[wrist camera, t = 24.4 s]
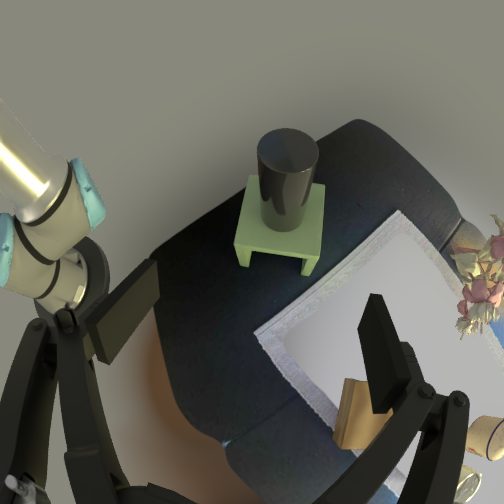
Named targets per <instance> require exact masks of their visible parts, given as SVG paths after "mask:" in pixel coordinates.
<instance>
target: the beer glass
mask: <svg viewBox="0 0 504 504" xmlns="http://www.w3.org/2000/svg"><path fill="white" fill-rule="evenodd" d="M480 483H481V474H480V473H479V472H476V471H474V470H473V469H471V468H470V467H467V466H465V465H463V464H462V469H461V474H460V478H459V483H458V487H457V491H456V494H455V498H454V502H453V504H464V503H465V502H467V501H468V500H469V499H470V498H471V497H472V496H473V495H474V494H475V492H476V491H477V489H478V487H479V485H480Z"/></svg>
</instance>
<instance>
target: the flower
mask: <svg viewBox="0 0 504 504" xmlns="http://www.w3.org/2000/svg"><path fill="white" fill-rule="evenodd" d="M490 216H492V217H494V219H495V223H496V224H497V225H498V227H499V229H500V235H499V236H494V235H492V237H491V238H489V240H488V241H487V243H486V244H485V246H484V247H483V249H482V250H475V249H468V248H462V247H456V246H455V245H454V243H453V242H452V243H451V246H452V248H453V250H454V254H455V255H450V256H451V258H452V259H454V260H455V261H456V265H457V268H458V271H459V273H461V274H462V275H464V276H466V277H467V278H469V279H472V282H467V281H465V280H464V279H463V278H462V282H463V285H464V288H463V291H462V293H463V295H464V298H465V300H462V301H460V302H459V304H458V305H457V307H458V312H460V313H461V314H462V315H464V317H460V318H458V321H457V324H456V326H458V332H459V331H460V330H461V329H462V336H461V338H460V339H461V340H462V337H463V334H464V332H465V334H466V335H467V334H468V335H469V334H470V332H471V331H473V332H474V335H475V333H476V331H477V329H478V323H479V321H481V327H480V332H481V334H482V325H483V322H484V324H485V323H486V322H487V325H489V324H488V323H490V319H491V317H492V318H493V320H494V322H495V323H496V322H497V320H498V317H499V315H500V313H499V312H498V311H497V309H496V308H495V307H497V306H499V304H500V301H501V298H503V300H504V282H503V284H502V281H504V223H503V222H502V221H501V220H500V219H499V218H498V217H497V216H496V215H495V214H494V215H490ZM491 258H494V259H496V260H494V261H490V259H491ZM500 259H501V261H502V263H503V264H502V266H501V267H500V269H499V270H498V272H497V273H494V274H492V275H491V277H492V278H491V279H489V281H493V282H494V283H495V284H497V285H494V286H493V287H492V288H491V289H489V288H487V285H486V280H487V279H488V278H489V272H490V270H491V268H492V264H493V263H495V262H497V261H499V260H500ZM480 263H485V264H489V265H488V267H487V270H486V272H485V273H484V270H483V268H482V266H481V264H480ZM480 270H481V272H482V273H483V274H481V275H480ZM488 291H489V292H490V296H489V297H488ZM467 301H469V302H471V303H474V306H473V307H471V308H470V310H469V312H468V309H467ZM476 322H477V323H476Z"/></svg>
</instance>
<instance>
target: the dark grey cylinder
mask: <svg viewBox="0 0 504 504" xmlns="http://www.w3.org/2000/svg"><path fill="white" fill-rule="evenodd" d="M257 157H258V176H259V195H260V215H261V218H262V221H263V222H264V224H265V225H266V226H267V227H268V228H270V229H271V230H274V231H276V232H290V231H293V230H295V229H296V228H298V227H299V226H300V225H301V223H302V221H303V219H304V215H305V211H306V207H307V203H308V199H309V195H310V191H311V187H312V183H313V179H314V174H315V170H316V166H317V161H318V157H319V150H318V146H317V144H316V142H315V141H314V140H313V139H312V138H311V137H310V136H309V135H307V134H306V133H304V132H302V131H299V130H296V129H290V128H282V129H276V130H273V131H270V132H268V133H267V134H265V135H264V136H263V137H262V138H261V139H260V141H259V143H258V146H257Z"/></svg>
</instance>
